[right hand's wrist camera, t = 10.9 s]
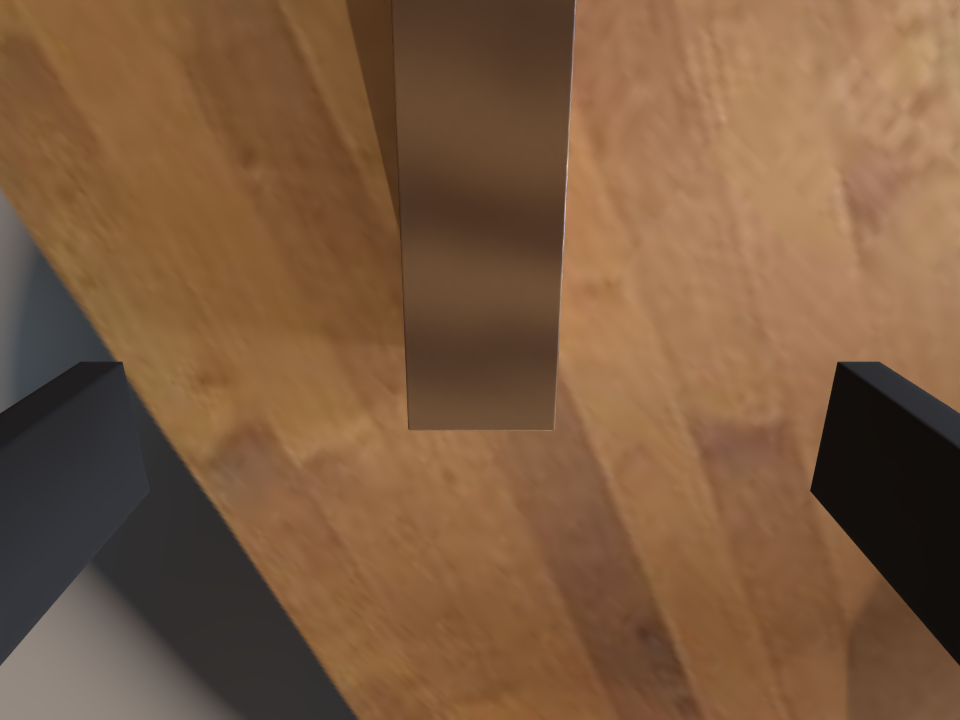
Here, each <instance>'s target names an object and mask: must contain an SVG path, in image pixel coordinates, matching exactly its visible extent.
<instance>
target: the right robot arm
mask: <svg viewBox="0 0 960 720" xmlns="http://www.w3.org/2000/svg"><path fill="white" fill-rule="evenodd" d="M149 491H150V490H149V485H148V480H147V475H146V471H145V466H144V461H143V457H142V452H141V447H140V442H139V438H138V433H137V429H136V424H135V419H134V414H133V409H132V405H131V400H130V395H129V391H128V386H127V381H126V376H125V372H124V367H123V362H80V363H78V364H76V365H75V366H73V367H72V368H70V369H69V370H67V371H66V372H64V373H63V374H61V375H59V376H58V377H56V378H55V379H53V380H52V381H50V382H49V383H47V384H45V385H44V386H42V387H41V388H39V389H38V390H36V391H35V392H33V393H31V394H30V395H28V396H27V397H25V398H24V399H22V400H20V401H19V402H17V403H16V404H14V405H13V406H11V407H10V408H8V409H6V410H5V411H3V412H2V413H0V665H1V664H2V663H3V662H4V661H5V660H6V658H7V657H8V656H9V655H10V654H11V653H12V651H13V650H14V649H15V648H16V647H17V646H18V644H19V643H20V642H21V641H22V640H23V639H24V637H25V636H26V635H27V634H28V633H29V632H30V630H31V629H32V628H33V627H34V626H35V624H36V623H37V622H38V621H39V620H40V619H41V617H42V616H43V615H44V614H45V613H46V612H47V611H48V609H49V608H50V607H51V606H52V605H53V603H54V602H55V601H56V600H57V599H58V598H59V596H60V595H61V594H62V593H63V592H64V591H65V589H66V588H67V587H68V586H69V585H70V584H71V582H72V581H73V580H74V579H75V578H76V577H77V575H78V574H79V573H80V572H81V571H82V570H83V568H84V567H85V566H86V565H87V564H88V563H89V561H90V560H91V559H92V558H93V557H94V556H95V554H96V553H97V552H98V551H99V550H100V549H101V547H102V546H103V545H104V544H105V543H106V541H107V540H108V539H109V538H110V537H111V536H112V535H113V533H114V532H115V531H116V530H117V529H118V528H119V526H120V525H121V524H122V523H123V522H124V520H125V519H126V518H127V517H128V516H129V515H130V514H131V512H132V511H133V510H134V509H135V508H136V506H137V505H138V504H139V503H140V502H141V501H142V499H143V498H144V497H145V496H146V495H147V494H148V492H149ZM810 491H811V492H812V494H813V495H814V496H815V497H816V498H817V499H818V501H819V502H820V503H821V504H822V505H823V507H824V508H825V509H826V510H827V511H828V512H829V514H830V515H831V516H832V517H833V518H834V519H835V521H836V522H837V523H838V524H839V525H840V526H841V528H842V529H843V530H844V531H845V532H846V533H847V535H848V536H849V537H850V538H851V539H852V540H853V542H854V543H855V544H856V545H857V546H858V547H859V549H860V550H861V551H862V552H863V553H864V554H865V556H866V557H867V558H868V559H869V560H870V561H871V563H872V564H873V565H874V566H875V567H876V568H877V570H878V571H879V572H880V573H881V574H882V575H883V577H884V578H885V579H886V580H887V581H888V582H889V584H890V585H891V586H892V587H893V588H894V589H895V591H896V592H897V593H898V594H899V595H900V596H901V598H902V599H903V600H904V601H905V602H906V603H907V605H908V606H909V607H910V608H911V609H912V611H913V612H914V613H915V614H916V615H917V616H918V618H919V619H920V620H921V621H922V622H923V623H924V625H925V626H926V627H927V628H928V629H929V630H930V632H931V633H932V634H933V635H934V636H935V637H936V639H937V640H938V641H939V642H940V643H941V644H942V646H943V647H944V648H945V649H946V650H947V651H948V653H949V654H950V655H951V656H952V657H953V658H954V660H955V661H956V662H957V663H958V664H959V665H960V413H958V412H957V411H955V410H954V409H952V408H950V407H949V406H947V405H946V404H944V403H943V402H941V401H940V400H938V399H936V398H935V397H933V396H932V395H930V394H929V393H927V392H926V391H924V390H922V389H921V388H919V387H918V386H916V385H915V384H913V383H912V382H910V381H908V380H907V379H905V378H904V377H902V376H901V375H899V374H898V373H896V372H894V371H893V370H891V369H890V368H888V367H887V366H885V365H884V364H882V363H880V362H837V367H836V372H835V376H834V381H833V386H832V391H831V395H830V400H829V405H828V409H827V414H826V419H825V424H824V428H823V433H822V438H821V442H820V447H819V452H818V457H817V461H816V466H815V471H814V475H813V480H812V485H811V490H810Z"/></svg>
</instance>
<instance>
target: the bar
mask: <svg viewBox="0 0 960 720" xmlns="http://www.w3.org/2000/svg"><path fill="white" fill-rule="evenodd" d="M391 14H392V39H393V63H394V88H395V113H396V138H397V162H398V187H399V212H400V236H401V261H402V286H403V310H404V335H405V360H406V385H407V409H408V429H409V430H481V431H554V430H555V415H556V395H557V375H558V355H559V335H560V315H561V295H562V276H563V256H564V236H565V216H566V196H567V176H568V156H569V137H570V117H571V97H572V77H573V57H574V37H575V17H576V0H391Z"/></svg>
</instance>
